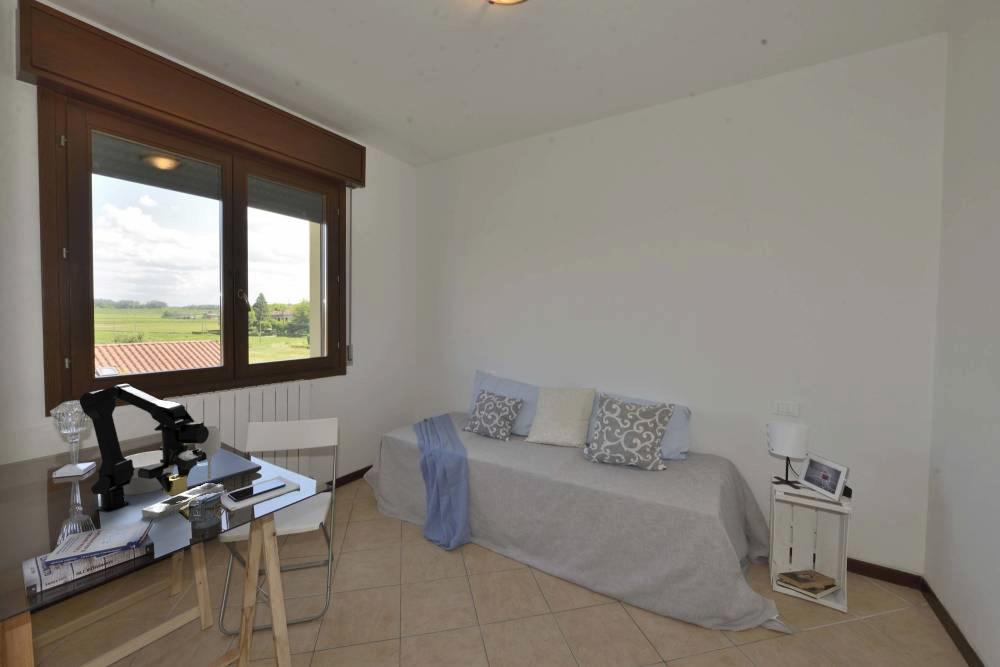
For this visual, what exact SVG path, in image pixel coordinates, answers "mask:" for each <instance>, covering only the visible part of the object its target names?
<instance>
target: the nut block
mask: <svg viewBox="0 0 1000 667" xmlns="http://www.w3.org/2000/svg"><path fill="white" fill-rule="evenodd" d="M169 482H170V491H169V492H166V491H165V490H164V488H162V489H163V494H164V495H167V496H171V497H174V496H176V495H179V494H181V493H183V492H186V491H188V477H187V476H186V475H179V474H178V473H176V474H174V475H173V474H172V476H170V477H169Z"/></svg>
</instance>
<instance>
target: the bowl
mask: <svg viewBox="0 0 1000 667" xmlns="http://www.w3.org/2000/svg"><path fill="white" fill-rule="evenodd" d="M123 457H124V456H123ZM124 458H126V459H127V460H129V459H131V460H132V461H133V467H134V469H135V470H134V475H133V476H132V478H131V481H130V484H127V485H125V486H123V488H124V495H127V496H133V495H134V496H135V495H142V494H143V495H144V494H148V492H149V493H153V492H155V491H159V490H162V489H163V487H162V485H161V484H160V482H159V481H158V480H157V479H156V478H153V479H146V478H140V477H138V470H139V469H140V468H142V467H145V466H148V465H151V464H152V465H162V464H163V463H160V460H161V459H163V452H162V451H160V450H153V451H146V452H145V451H144V452H139V453H136V454H135V453H134V454H131V455H128V456H125V457H124ZM174 470H175V467H172V468H169V469H168V472H169V473H171V475H170V476H173V474H174ZM152 491H153V492H152Z"/></svg>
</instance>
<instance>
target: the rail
mask: <svg viewBox="0 0 1000 667" xmlns="http://www.w3.org/2000/svg"><path fill="white" fill-rule="evenodd" d="M222 491H224V484H220V483H218V484H214V483H205V484H203V485H201V486H196V487H194V488H191V489H189V490H188V489H187V491H184V492H182V493H179V494H177V495H174V496H171V497H169V498H167V499H166V498H165V499H164V500H162V501H159V502H157V503H154V504H152V505H149V506H147V507H145V508H142V509H141V514H142V518H144V519H145V518H146V519H151V520H156V521H161V520H163V519H166V518H167V517H170V516H172V515H174V514H178V513H179V512H180V511H179V509H180V508H181V507H183V506H185V505H187V504H188V502H189V501H190V500H191V499H193V498H196V497H199V496H203V495H206V494H211V493H218V492H222ZM222 493H223V492H222ZM182 500H184V501H183V502H179V503H177V504H175V503H176V502H178V501H182Z"/></svg>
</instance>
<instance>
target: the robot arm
mask: <svg viewBox="0 0 1000 667" xmlns="http://www.w3.org/2000/svg"><path fill="white" fill-rule="evenodd" d="M117 400H120V401H122V402H125V403H128V404H129V405H131V406H134V407H136V408H138V409H140V410H143V411H145V412H147V413H148V414H149V415H150V416H151V418H152V419H153V420H155V421H156V422H157V423H159V424H158V426H156V427H155V428H154V431H158V432H159V431H160V432H161V446H159V448H158V450H159V451H162V452H163V459H161V460H160V463H163V464H162V465H152V464H151V465H148V466H145V467H142V468H140V469H139V470H138V477H140V478H146V479H153V478H156V479H157V480H158V481H159V482H160V484H161V485H162V487H163V488H164V489H163V488H162V489H163V491H164V490H165V491H166V492H169V491H170V482H169V477H170V475H171V473H169V472H168V469H169V468H172V467H174V468H175V467H177V474H179V475H186V476H187V478H189V474H190V471H191V470H192V469H193V468H194V467H195V466H197V465H198V463H200V462H201V463H202V462H203V461H207V454H206V453H205V452H203V451H202V449H200V448H198V449H196V448H195V449H192V450H189V449H188V448H189V447H188V445H187V444H195V443H198V444H201V443H204V442H205V441H206V440H207V438H208V436H209V430H208V429H207V427H206V425H205V424H204V421H203V422H202V421H201V422H195V420H194V418H193V417H192V416H191V415H190V413H189V412H188V411H187V410H186V406H185V405H183V404H181V403H177V402H174V401H167V400H161V399H158V398H156V397H155V396H152V395H150V394H148V393H146V392H144V391H142V390H139V389H137V388H134V387H133V386H132V385H131V384H128V383H122V384H121V383H120V384H115V385H113V386H111V387H108V388H106V389H99V390H93V391H90V392H86V393H83V394H82V396H81V397H80V398H79V405H80V407H81V409H82V412H83V413H84V415H85V416H87V417H88V418H89V419H91V420H92V421H91V422H92V424H93V428H94V432H95V437H96V441H97V443H98V444H97V445H98V448H99V452H100V455H101V456H100V457H101V460H102V462H101V465H100V468H99V470H98V480H97V481H96V482H95V483H94V485H92V486H91V488H90V490H91V492H92V494H93V495H100V496H99V497H100V506H97V507H95V510H96V511H101V512H105V513H110V512H112V511H114V510H117V509H119V508H123V507H125V506H128V505H130V504H131V502H129V501H126V500H125V494H124V488H123V486H125V485H127V484H130V481H131V478H132V476H133V475H134V470H135V469H134V467H133V461H132V460H131V459H129V460H127V459H126V458H124V456H123V455H122V454H123V453H122V450H121V445H120V443H119V436H118V434H117V429H116V425H115V422H114V417H113V414H114V412H115V409H116V405H117V404H116V402H117Z"/></svg>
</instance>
